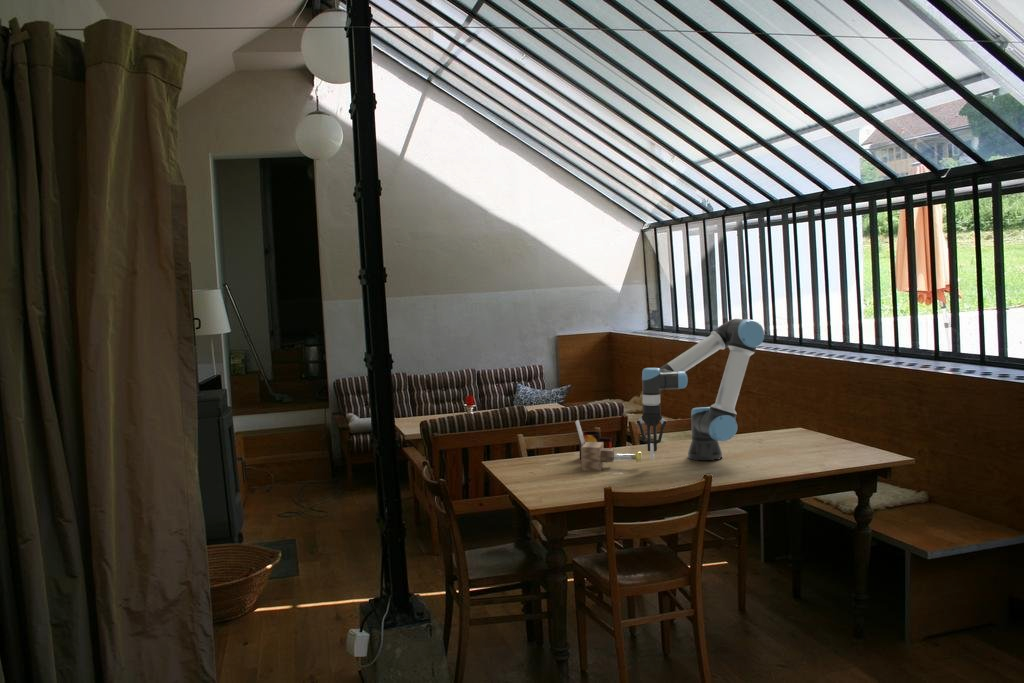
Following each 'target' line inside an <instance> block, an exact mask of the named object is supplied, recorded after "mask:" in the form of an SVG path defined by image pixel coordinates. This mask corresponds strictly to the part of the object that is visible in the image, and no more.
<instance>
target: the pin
mask: <svg viewBox="0 0 1024 683" xmlns="http://www.w3.org/2000/svg"><path fill="white" fill-rule="evenodd" d="M642 454H643V453H642V451H636V452H635V454H634V453H614V454H613V459H614V460H623V461H624V460H625V461H627V460H628V461H629V460H631V461H636V463H639V464H640V463H642V462H643V460H642V459H643V458H642V456H643V455H642Z"/></svg>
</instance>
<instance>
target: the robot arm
mask: <svg viewBox="0 0 1024 683" xmlns="http://www.w3.org/2000/svg"><path fill="white" fill-rule="evenodd" d="M764 339H765V330H764V328H763V326H762V324H760V322H758V321H756V320H753V319H750V318H749V319H748V318H747V319H746V318H745V319H744V318H743V319H742V318H733V319H729V320H728V321H725V323H723V324H721V325H719V326H718V327H717V328H715V329H713V330H712V331H711V332H710V334H709V335H708V336H707V337H705V338H704V339H703V340H701V341H700V342H697V343H696V344H694V345H693V346H692V347H690V348H688V349H687V350H685V351H684V352H682V353H681V354H680V355H678V356H676V357H675V358H673V359H672V360H670V361H669V362H667V363H665V364H664V365H663V366H661V367H645V368H643V369H642V372H641V373H642V374H641V375H642V376H641V381H642V382H641V384H642V385H641V386H642V387H641V388H642V416H641V418H639V419H637V420H636V424H638V427H639V431H640V434H641V438H642V439H641V440H642V442H643V443H645V444H646V445H647V452H649V453H650V455H649V456H650V457H649V460H651V461H652V460H655V452H657V450H658V444H660V443H661V441H662V439H663V434H664V431H665V426H666V425H667V422H668V420H666V419H664V418H663V417H662V414H661V413H662V412H661V410H662V409H661V406H662V405H661V390H662V391H663V390H664V391H665V390H680V389H686V387H687V386H688V381H689V378H688V375H687V371H688V370H690V369H692V368H694V367H695V366H696V365H698V364H699V363H701V362H702V361H704V360H705V359H707V358H709V357H710V356H712V355H713V354H715V353H717V352H718V351H719V350H725V349H726V348H727V349H729V354H728V358H727V359H726V360H727V361H726V364H725V367H724V371H723V374H722V379H721V381H720V384H719V385H720V386H719V388H718V393H717V395H716V398H715V403H713V404H711V405H710V406H706V407H705V406H703V407H702V406H700V407H694V408H692V409H691V411H690V412H691V414H690V417H691V418H690V419H691V422H690V424H691V425H690V426H691V442H690V445H689V447H688V448H689V449H688V452H687V458H688V459H690V460H694V461H699V460H714V459H719V458H721V457H722V458H723V451H722V449H721V445H720V443H719V442H726V441H727V442H728V441H729V440H731V439H732V438H733V437H735V435H736V434H737V432H738V423H737V420H736V418H737V415H738V414H737V411H736V405H737V401H738V398H739V396H740V391H741V387H742V385H743V381H744V378H745V376H746V371H747V369H748V368H747V367H748V364H749V361H750V357H751V356H752V355H754V354H755V353H756V350H757V347H759V346H760V345H762V343H763V341H764ZM643 422H644V424H645V425H646V429H647V430H646V432H647V433H646V432H645V430H644V426H643ZM659 424H661V427H660V430H659V434H657V433H658V432H657V431H658V430H657V426H658V425H659ZM651 428H652V430H653V433H652V432H651ZM651 433H652V434H653V442H652V441H651V440H652V438H651V437H652V436H651V435H652V434H651ZM646 434H647V437H646ZM714 461H715V460H714Z"/></svg>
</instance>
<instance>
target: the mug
mask: <svg viewBox="0 0 1024 683" xmlns="http://www.w3.org/2000/svg"><path fill="white" fill-rule="evenodd" d="M582 433H583V437H584V440H585V441H586V442H604V443H608V448H612V438H611V437H601V432H600V431H595V430H594V431H592V430H591V431H590V430H587V431H582ZM578 439H579V461H581V447H582V446H581V440H580V437H579V436H578ZM583 444H584V443H583Z"/></svg>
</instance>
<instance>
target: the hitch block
mask: <svg viewBox="0 0 1024 683" xmlns="http://www.w3.org/2000/svg"><path fill="white" fill-rule="evenodd" d="M604 443H605V442H586V441H585V442H584V444H583V443H582V444H581V446H582V447H581V460H580V461H581V462H580V463H581V465H580V466H581V471H593V472H594V471H598V472H600V471H601V470H602V469H603V467H604V465H605V463H613V462H614V461H615V459H613V454H615V448H613V447H611V448H609V447H608V448H607V447H606V448H605V447H604V445H605V444H604Z"/></svg>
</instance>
